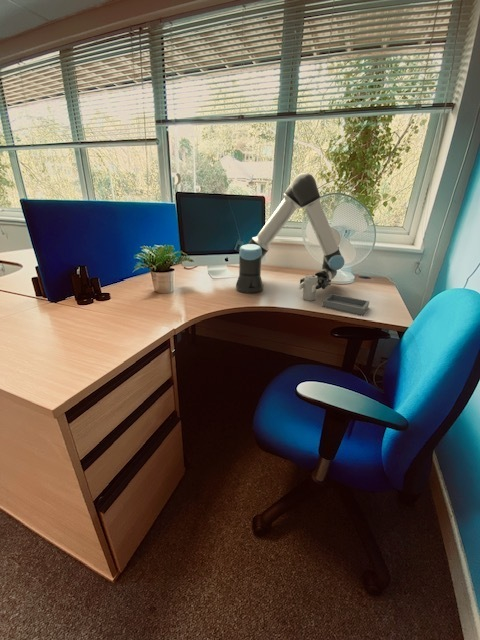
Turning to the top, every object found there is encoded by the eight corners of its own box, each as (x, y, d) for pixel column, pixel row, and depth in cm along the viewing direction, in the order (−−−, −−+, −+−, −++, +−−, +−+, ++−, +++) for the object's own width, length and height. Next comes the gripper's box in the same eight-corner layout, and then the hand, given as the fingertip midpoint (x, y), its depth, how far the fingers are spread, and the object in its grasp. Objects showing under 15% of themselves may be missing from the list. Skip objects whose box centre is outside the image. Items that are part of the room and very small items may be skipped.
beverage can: (315, 301, 129) (318, 278, 124) (302, 300, 131) (304, 277, 125) (314, 297, 135) (317, 274, 130) (302, 296, 136) (304, 273, 131)
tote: (322, 306, 124) (323, 300, 122) (329, 299, 133) (331, 293, 131) (362, 315, 114) (364, 309, 113) (368, 307, 123) (369, 301, 122)
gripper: (338, 287, 140) (324, 299, 123) (305, 281, 150) (287, 291, 132) (340, 273, 137) (326, 283, 120) (307, 268, 146) (289, 277, 129)
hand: (306, 288), depth 126 cm, fingers closed on beverage can, 5 cm apart
